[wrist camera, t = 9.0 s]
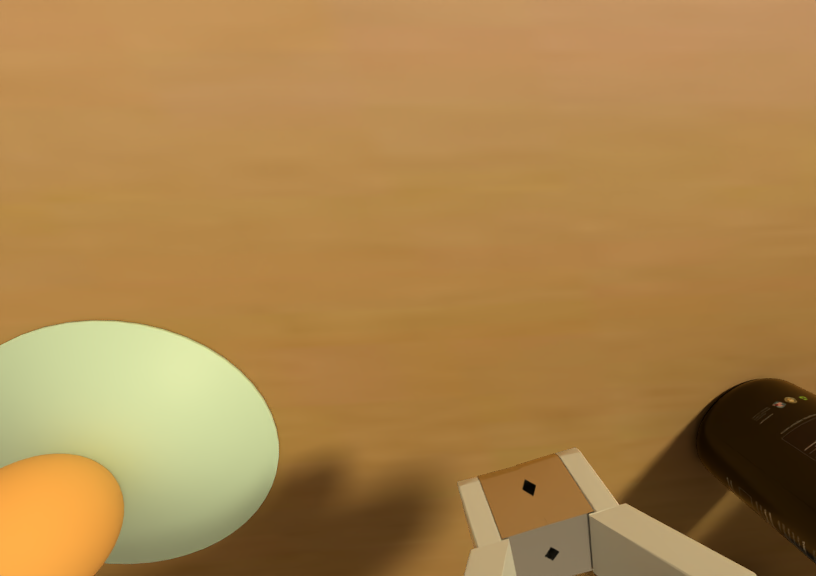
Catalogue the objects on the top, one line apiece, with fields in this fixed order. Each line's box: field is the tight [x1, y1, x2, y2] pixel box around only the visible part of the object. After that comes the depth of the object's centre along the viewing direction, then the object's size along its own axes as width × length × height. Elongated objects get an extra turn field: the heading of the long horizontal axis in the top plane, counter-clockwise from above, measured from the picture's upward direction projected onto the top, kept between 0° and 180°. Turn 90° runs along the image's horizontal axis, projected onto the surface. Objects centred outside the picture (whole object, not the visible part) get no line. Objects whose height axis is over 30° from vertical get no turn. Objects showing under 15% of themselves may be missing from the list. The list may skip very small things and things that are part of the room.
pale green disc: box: [0, 320, 279, 564], centre depth 18 cm, size 13×13×1 cm
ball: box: [0, 454, 124, 576], centre depth 15 cm, size 6×6×6 cm
